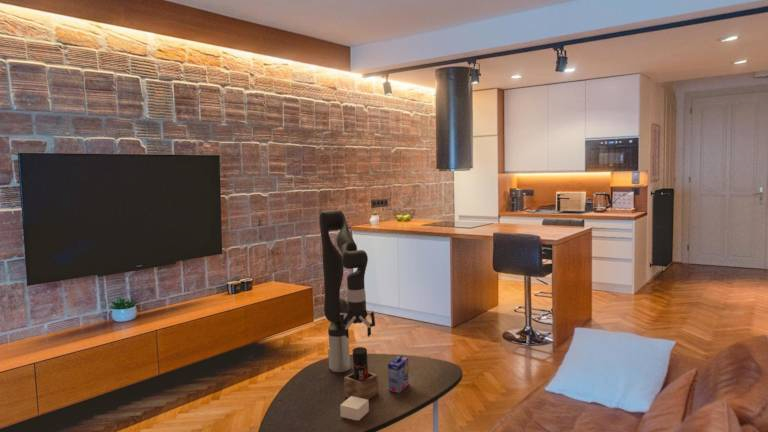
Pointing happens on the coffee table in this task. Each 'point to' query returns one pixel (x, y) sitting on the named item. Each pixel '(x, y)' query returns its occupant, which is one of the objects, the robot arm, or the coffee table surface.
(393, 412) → the coffee table surface
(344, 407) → the offwhite block
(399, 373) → the ink cartridge box
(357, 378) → the deodorant
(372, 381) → the wooden box
